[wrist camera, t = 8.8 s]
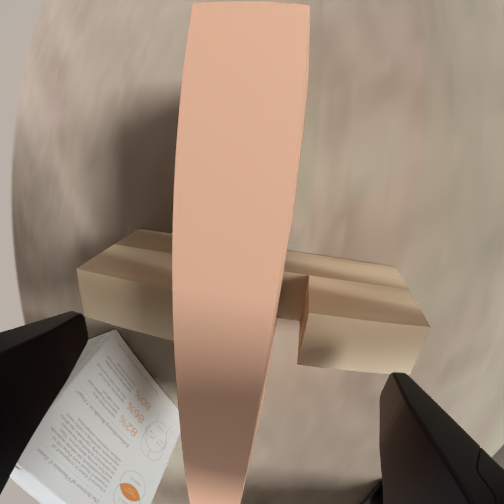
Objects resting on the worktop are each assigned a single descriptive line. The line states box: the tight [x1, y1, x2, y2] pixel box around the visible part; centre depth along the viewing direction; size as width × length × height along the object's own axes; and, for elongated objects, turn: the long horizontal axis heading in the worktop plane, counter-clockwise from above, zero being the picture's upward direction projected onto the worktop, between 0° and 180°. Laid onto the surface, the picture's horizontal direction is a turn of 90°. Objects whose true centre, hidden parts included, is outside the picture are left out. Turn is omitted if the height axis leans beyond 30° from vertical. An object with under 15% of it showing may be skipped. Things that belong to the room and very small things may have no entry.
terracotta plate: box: [172, 1, 310, 504], centre depth 11 cm, size 16×2×8 cm, turn 175°
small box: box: [10, 329, 181, 504], centre depth 14 cm, size 8×6×10 cm
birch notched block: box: [76, 229, 430, 375], centre depth 12 cm, size 2×12×5 cm, turn 85°
